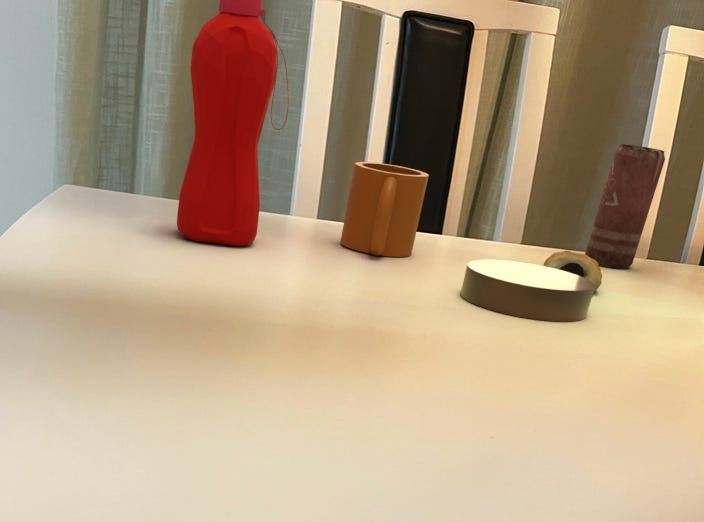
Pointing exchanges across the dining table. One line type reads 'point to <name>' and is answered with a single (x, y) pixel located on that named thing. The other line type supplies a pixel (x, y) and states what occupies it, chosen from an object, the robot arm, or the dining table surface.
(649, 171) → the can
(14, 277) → the dining table surface
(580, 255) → the pastry
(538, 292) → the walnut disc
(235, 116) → the water bottle
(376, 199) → the mug
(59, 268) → the dining table surface
